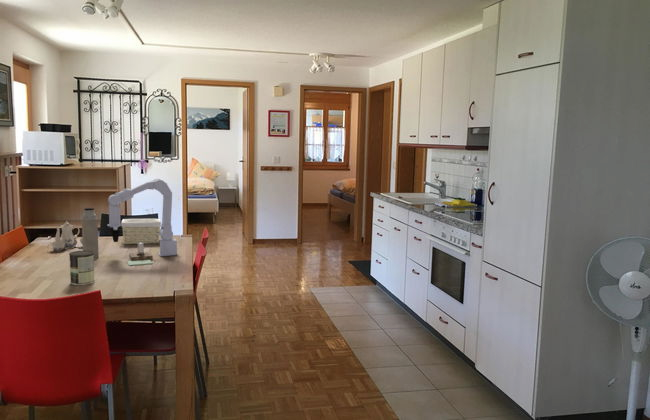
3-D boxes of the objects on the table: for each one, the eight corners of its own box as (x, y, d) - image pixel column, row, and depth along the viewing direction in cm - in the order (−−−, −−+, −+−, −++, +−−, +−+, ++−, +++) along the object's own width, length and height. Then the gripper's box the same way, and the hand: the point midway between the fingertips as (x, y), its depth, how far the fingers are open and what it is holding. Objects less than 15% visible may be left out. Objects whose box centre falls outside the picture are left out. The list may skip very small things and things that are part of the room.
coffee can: (66, 285, 241) (65, 254, 239) (75, 279, 251) (74, 250, 249) (90, 285, 242) (89, 255, 240) (97, 279, 252) (96, 250, 250)
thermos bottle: (90, 255, 302) (88, 207, 298) (101, 257, 299) (100, 207, 296) (79, 258, 294) (77, 208, 291) (91, 260, 292) (89, 209, 288)
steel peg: (143, 258, 299) (143, 242, 298) (144, 259, 296) (143, 243, 295) (137, 258, 298) (137, 242, 296) (138, 259, 295) (137, 243, 294)
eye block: (149, 256, 304) (149, 251, 304) (152, 260, 294) (152, 255, 294) (129, 257, 299) (129, 253, 299) (131, 261, 290) (131, 257, 289)
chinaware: (55, 256, 307) (56, 228, 304) (39, 249, 316) (39, 222, 313) (98, 248, 331) (99, 222, 328) (82, 242, 339) (83, 217, 336)
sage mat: (150, 260, 293) (149, 259, 293) (152, 264, 285) (152, 262, 285) (126, 262, 288) (126, 261, 288) (128, 265, 280) (128, 264, 280)
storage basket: (160, 239, 356) (160, 217, 355) (161, 244, 341) (161, 221, 339) (122, 241, 349) (121, 218, 347) (121, 245, 333) (121, 222, 332)
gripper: (106, 215, 299) (107, 238, 301) (107, 218, 286) (108, 243, 287) (120, 214, 302) (120, 238, 303) (121, 218, 289) (122, 242, 290)
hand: (115, 240), depth 296 cm, fingers open, 7 cm apart
